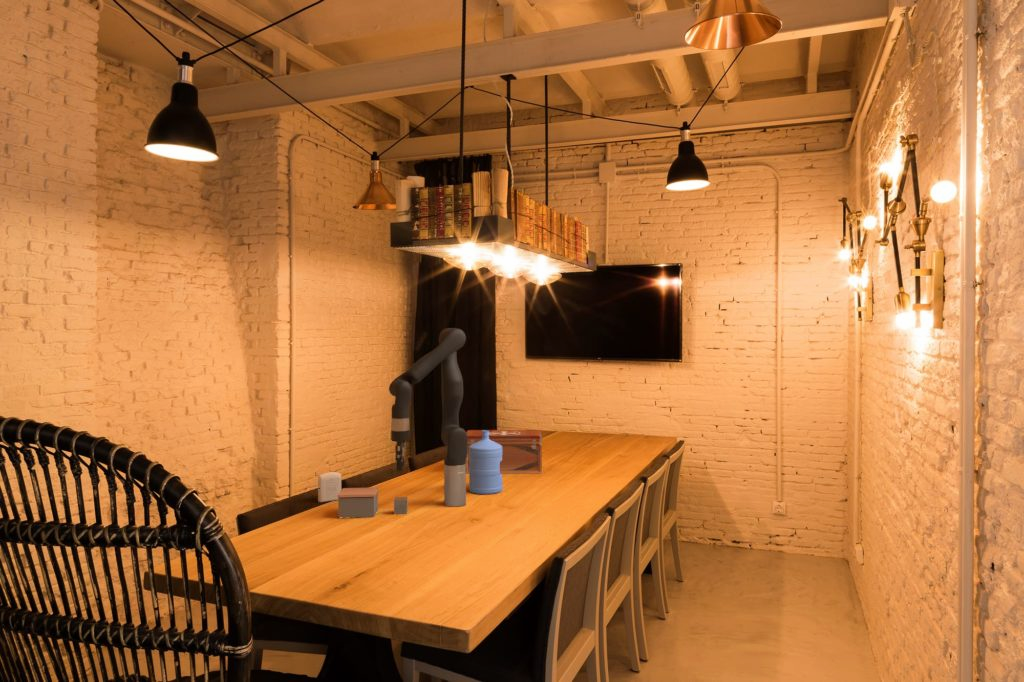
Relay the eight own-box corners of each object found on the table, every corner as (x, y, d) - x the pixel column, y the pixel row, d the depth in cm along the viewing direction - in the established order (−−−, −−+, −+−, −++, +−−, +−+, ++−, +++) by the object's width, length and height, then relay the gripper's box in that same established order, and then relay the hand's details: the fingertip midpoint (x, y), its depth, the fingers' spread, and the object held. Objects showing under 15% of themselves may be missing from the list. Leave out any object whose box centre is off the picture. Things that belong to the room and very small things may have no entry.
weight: (407, 511, 281) (407, 496, 281) (406, 514, 276) (406, 499, 276) (395, 511, 281) (395, 497, 281) (394, 514, 276) (393, 500, 276)
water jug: (483, 496, 305) (482, 434, 304) (462, 490, 317) (461, 430, 316) (509, 491, 315) (509, 430, 315) (488, 485, 327) (487, 427, 327)
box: (377, 509, 284) (377, 490, 283) (374, 517, 272) (374, 497, 271) (343, 510, 283) (343, 491, 282) (338, 518, 271) (338, 498, 270)
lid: (378, 489, 283) (378, 487, 283) (374, 496, 271) (374, 494, 271) (342, 490, 282) (342, 488, 282) (337, 497, 270) (337, 495, 270)
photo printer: (339, 497, 304) (339, 470, 304) (342, 499, 301) (342, 471, 301) (316, 501, 299) (316, 473, 299) (319, 503, 295) (319, 474, 295)
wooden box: (542, 474, 353) (542, 435, 352) (463, 474, 353) (463, 435, 353) (541, 466, 373) (541, 429, 373) (467, 466, 374) (467, 430, 374)
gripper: (408, 431, 271) (408, 472, 271) (410, 426, 285) (410, 465, 285) (389, 431, 270) (389, 472, 271) (392, 426, 285) (392, 465, 285)
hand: (400, 468), depth 278 cm, fingers open, 8 cm apart
